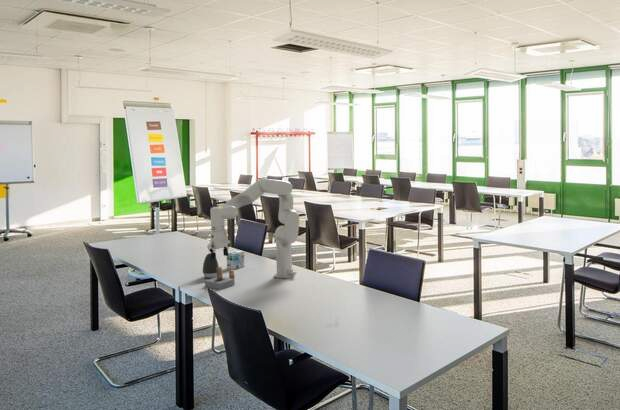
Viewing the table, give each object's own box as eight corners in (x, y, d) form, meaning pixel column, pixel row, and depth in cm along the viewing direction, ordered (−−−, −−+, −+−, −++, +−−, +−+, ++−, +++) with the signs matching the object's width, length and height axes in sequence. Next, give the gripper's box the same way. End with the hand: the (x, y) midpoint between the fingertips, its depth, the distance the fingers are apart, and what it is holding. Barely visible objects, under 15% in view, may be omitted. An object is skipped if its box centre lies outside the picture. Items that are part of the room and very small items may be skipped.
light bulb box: (233, 269, 326) (233, 253, 324) (226, 268, 330) (225, 252, 328) (244, 266, 334) (244, 250, 333) (237, 265, 338) (237, 249, 337)
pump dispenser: (222, 275, 311) (221, 251, 309) (215, 279, 301) (214, 255, 299) (207, 274, 313) (206, 251, 312) (199, 278, 303) (198, 254, 302)
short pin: (235, 278, 304) (235, 270, 303) (231, 279, 301) (231, 271, 301) (231, 277, 306) (231, 269, 305) (228, 278, 303) (227, 270, 303)
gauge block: (234, 284, 289) (234, 279, 288) (219, 289, 279) (219, 283, 278) (220, 281, 295) (219, 276, 295) (205, 286, 286) (204, 280, 285)
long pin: (223, 285, 288) (223, 267, 286) (219, 286, 285) (219, 268, 284) (219, 284, 289) (219, 266, 288) (215, 286, 287) (215, 267, 286)
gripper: (211, 231, 274) (213, 261, 276) (233, 226, 288) (235, 254, 290) (202, 230, 279) (204, 259, 281) (224, 225, 292) (225, 253, 295)
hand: (219, 257), depth 286 cm, fingers open, 9 cm apart
